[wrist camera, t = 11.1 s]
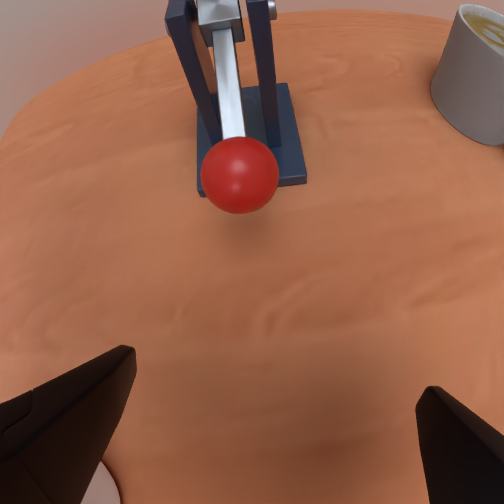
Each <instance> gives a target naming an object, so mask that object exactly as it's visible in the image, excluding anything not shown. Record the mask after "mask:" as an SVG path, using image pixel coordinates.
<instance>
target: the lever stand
mask: <svg viewBox="0 0 504 504" xmlns="http://www.w3.org/2000/svg"><path fill="white" fill-rule="evenodd" d="M246 5H247V11H248V17H249V23H250V30H251V36H252V42H253V49H254V55H255V62H256V68H257V75H258V82H259V86H253V87H246V88H241V91H242V98H243V106H244V114H245V121H246V129H247V137H250V138H254V139H256V140H258V141H260V142H261V143H263V144H264V145H265V146H267V147H268V148H269V149H270V150H271V152H272V153H273V155H274V157H275V158H276V161H277V164H278V168H279V182H278V186H277V187H279V186H287V185H296V184H305V183H307V172H306V167H305V162H304V157H303V152H302V147H301V142H300V138H299V133H298V128H297V124H296V119H295V115H294V110H293V106H292V102H291V97H290V93H289V89H288V85H287V83H278V84H276V74H275V63H274V53H273V43H272V33H271V23H270V20H276V19H277V12H276V6H275V1H274V0H246ZM165 25H166V30H167V33H168V35H169V36H170V37H171V38H172V41H173V43H174V46H175V48H176V51H177V54H178V56H179V59H180V62H181V64H182V67H183V70H184V72H185V75H186V78H187V80H188V83H189V86H190V88H191V91H192V93H193V96H194V99H195V101H196V104H197V190H198V192H199V194H200V196H201V197H205V196H206V194H205V192H204V190H203V188H202V184H201V178H200V172H201V166H202V163H203V160H204V158H205V156H206V154H207V153H208V152H209V150H210V149H211V148H212V147H213V146H214V145H216V144H217V143H218V142H220V141H222V130H221V121H220V112H219V103H218V93H217V84H216V75H215V71H214V68H213V64H212V61H211V57H210V54H209V50H208V47H207V46H206V44H205V41H204V39H203V36H202V34H201V31H200V29H199V26H198V18H197V8H196V5H195V2H194V0H169V3H168V7H167V11H166V15H165Z"/></svg>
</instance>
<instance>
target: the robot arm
mask: <svg viewBox="0 0 504 504" xmlns="http://www.w3.org/2000/svg"><path fill="white" fill-rule="evenodd" d="M136 372H137V366H136V352H135V349H134V348H133V347H130V346H126V345H119V346H117V347H115V348H114V349H112V350H110V351H108V352H106V353H104V354H102V355H100V356H98V357H96V358H94V359H92V360H90V361H88V362H86V363H84V364H82V365H80V366H78V367H76V368H74V369H72V370H70V371H68V372H66V373H64V374H62V375H60V376H58V377H56V378H54V379H52V380H50V381H48V382H46V383H44V384H42V385H40V386H38V387H36V388H34V389H33V391H32V390H30V391H28V392H26V393H24V394H22V395H20V396H18V397H15V398H13V399H11V400H9V401H6V402H4V403H1V404H0V504H81V502H82V500H83V498H84V495H85V493H86V491H87V489H88V486H89V484H90V482H91V480H92V478H93V476H94V473H95V471H96V469H97V467H98V465H99V463H100V460H101V458H102V456H103V454H104V452H105V450H106V448H107V446H108V444H109V442H110V439H111V437H112V435H113V433H114V431H115V429H116V427H117V425H118V423H119V421H120V419H121V416H122V414H123V411H124V408H125V405H126V402H127V399H128V396H129V393H130V390H131V388H132V385H133V382H134V379H135V376H136ZM415 412H416V420H417V428H418V437H419V446H420V452H421V457H422V462H423V468H424V473H425V478H426V484H427V490H428V496H429V502H430V504H504V435H502V434H501V433H500V432H498V431H497V430H496V429H494V428H493V427H492V426H491V425H489V424H488V423H487V422H485V421H484V420H483V419H481V418H480V417H479V416H477V415H476V414H475V413H474V412H472V411H471V410H470V409H468V408H467V407H466V406H464V405H463V404H462V403H460V402H459V401H458V400H457V399H455V398H454V397H453V396H451V395H450V394H449V393H447V392H446V391H445V390H443V389H442V388H441V387H439V386H428V387H427V388H426V389H425V390H424V392H423V394H422V396H421V397H420V399H419V401H418V402H417V404H416V409H415Z"/></svg>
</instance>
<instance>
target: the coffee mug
mask: <svg viewBox="0 0 504 504" xmlns="http://www.w3.org/2000/svg"><path fill="white" fill-rule="evenodd" d="M430 91H431V96H432V99H433V101H434V103H435V105H436V107H437V108H438V110H439V111H440V113H441V114H442V115H443V116H444V118H445V119H446V120H447V121H448V122H449V123H450V124H451V125H452V126H453V127H455V128H456V129H457V130H458V131H460V132H461V133H462V134H464V135H465V136H467V137H469V138H470V139H472V140H474V141H477V142H479V143H482V144H485V145H491V146H497V145H501V144H504V16H503V15H501V14H499V13H497V12H495V11H493V10H490V9H488V8H485V7H482V6H479V5H475V4H463V5H461V6H459V8H458V11H457V13H456V16H455V19H454V22H453V25H452V28H451V31H450V34H449V37H448V40H447V43H446V45H445V48H444V51H443V54H442V56H441V59H440V62H439V64H438V67H437V70H436V72H435V75H434V77H433V80H432V82H431V87H430Z"/></svg>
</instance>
